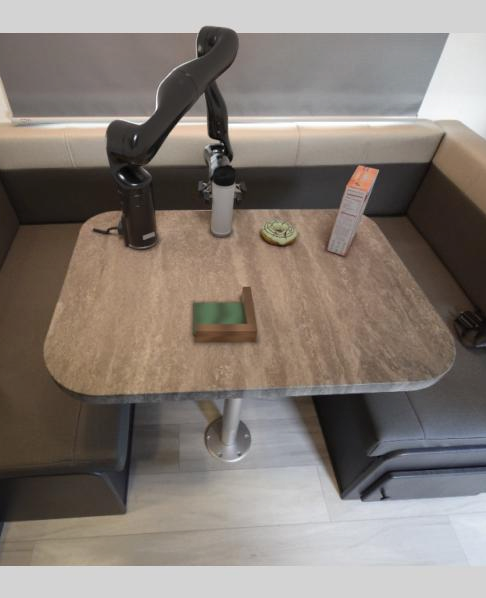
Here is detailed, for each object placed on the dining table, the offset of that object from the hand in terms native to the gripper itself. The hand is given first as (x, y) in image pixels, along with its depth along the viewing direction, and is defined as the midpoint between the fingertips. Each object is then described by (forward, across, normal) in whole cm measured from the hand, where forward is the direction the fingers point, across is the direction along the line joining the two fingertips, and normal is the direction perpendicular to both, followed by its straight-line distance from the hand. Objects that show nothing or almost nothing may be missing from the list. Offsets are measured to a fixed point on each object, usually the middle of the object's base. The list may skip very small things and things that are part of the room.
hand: (223, 202), depth 100 cm
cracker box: (+3, +36, +11) cm, 38 cm away
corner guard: (+34, -1, +11) cm, 36 cm away
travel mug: (-2, 0, +11) cm, 11 cm away
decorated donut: (+1, +17, +11) cm, 21 cm away
